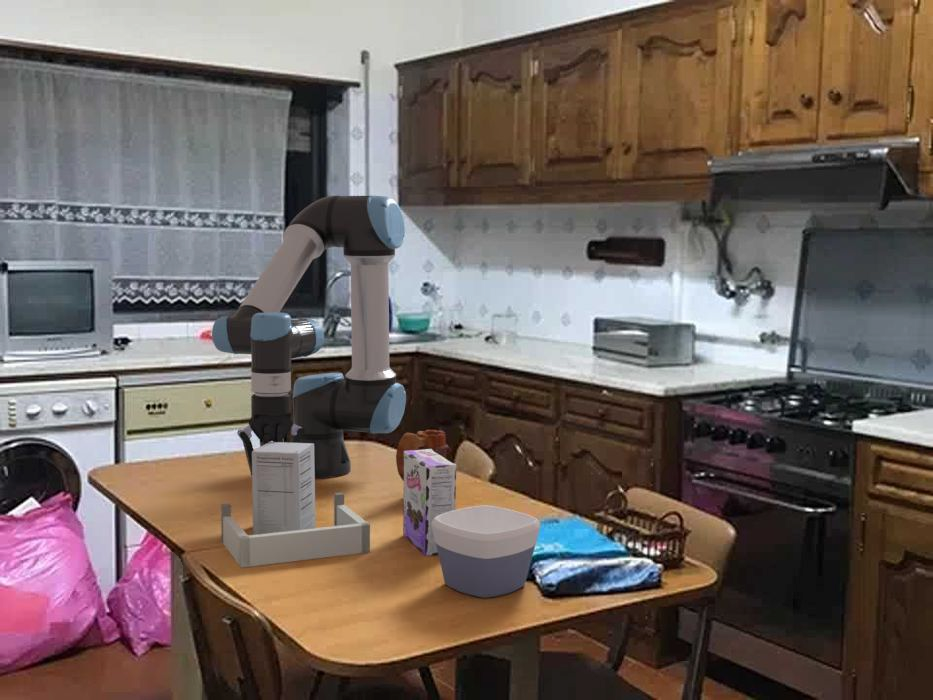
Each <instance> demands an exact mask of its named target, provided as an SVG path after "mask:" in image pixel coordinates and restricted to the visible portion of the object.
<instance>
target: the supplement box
mask: <svg viewBox="0 0 933 700" xmlns="http://www.w3.org/2000/svg"><path fill="white" fill-rule="evenodd" d="M253 450H254V451H252V476H251V488H252V489H251V495H252V532H253V533H252V535H258V534H267V533H276V532H285V531H294V530H304V529H313V528H317V527H316V480H315V479H316V478H315V465H314V444H312V443H289V442H288V441H287V442H286V441H285V442H284V441H283V442H273V441H271V442H268V443H266V444H264V445H263V446H261V447H260V446H259V447H257V448H255V449H253Z"/></svg>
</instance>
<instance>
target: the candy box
mask: <svg viewBox="0 0 933 700" xmlns="http://www.w3.org/2000/svg"><path fill="white" fill-rule="evenodd" d="M456 490H457V464H456V463H453V462H452V461H450V460H449V459H447V458H446V459H445V458H444V457H442V456H441V455H439V454H438V453H436V452H434V451H433V450H432V449H421V450H409V451H404V481H403V520H402V521H403V522H402V523H403V524H402V525H403V528H402V530H403V532H402V533H403V536H404V537H405V538H406V539H407V540H408V542H410V543H411V544H412V545H413V546H414V547H416V548H417V549H418V550H419V551H420V552H421V553H422V554H423V555H424V556H425V557H426V556H439V555H438V551H437V547H436V543H435V539H434V535H433V530H432V526H431V523H432V520H433V519H434V518H435V517H436V516H438V515H441V514H444V513H446V512H450V511H453V510H456Z"/></svg>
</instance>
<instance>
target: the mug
mask: <svg viewBox="0 0 933 700" xmlns="http://www.w3.org/2000/svg"><path fill="white" fill-rule="evenodd" d="M446 435H447V434H446V432H445V431H443V430H437V429H426V430H423V431H422V430H419V431H417V432H416V433H413V432H412V433H411V432H405V433H404V434H403V435H402V436H401V438H400V439H399V443H398V445H397V447H396V454H395V461H396V468H397V473H398V475H399V477H400V479H401V480H402V481H403V482H404V451H409V450H421V449H432V450H433V451H434V452H436V453H438V454H439V455H441V456H442V457H444V458H445V459H447V454H450V452H452V448H450V447H449V445H448V444H447V442H446V438H447V437H446Z"/></svg>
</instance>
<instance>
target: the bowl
mask: <svg viewBox="0 0 933 700" xmlns="http://www.w3.org/2000/svg"><path fill="white" fill-rule="evenodd" d="M431 526H432V530H433V535H434V539H435V543H436V547H437V551H438V555H437V556H438V558H439V563H440V568H441V572H442V576H443V581H444V584H446V585H447V587H449V588H450V589H451V588H452V590H454V591H457V592H459V593H462V594H465V595H468V596H472V597H476V598H480V597H481V598H482V599H489V598H495V597H500V596H504V595H508V594H510V593H513V592H515V591H517V590H519V589H521V588H523V587H524V586H525V584H526V581H527V578H528V574H529V570H530V566H531V563H532V560H533V556H534V551H535V548H536V545H537V541H538V537H539V533H540V530H541V523H540V521H539V519H537V518H536V517H534V516H532V515H529V514H527V513H524V512H520V511H517V510H513V509H509V508H505V507H500V506H495V505H487V504H484V505H475V506H468V507H463V508H458V509H455V510H453V511H450V512H446V513H444V514H441V515H438V516H436V517H435V518H434V519H433V520H432V523H431Z"/></svg>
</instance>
